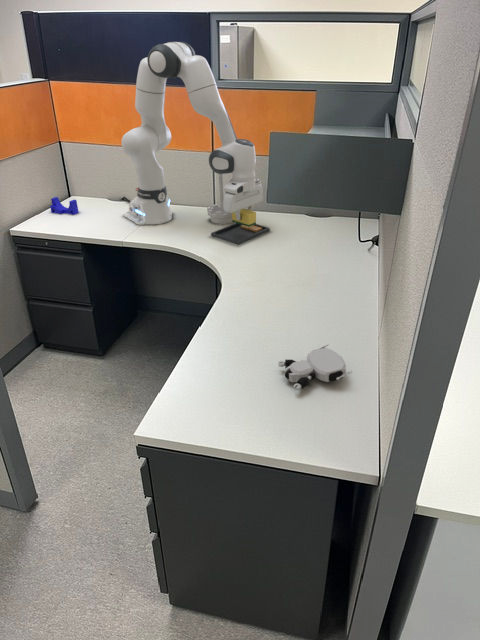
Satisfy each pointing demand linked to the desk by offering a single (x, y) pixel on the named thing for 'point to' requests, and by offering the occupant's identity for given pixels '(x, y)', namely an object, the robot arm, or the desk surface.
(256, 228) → the crumb
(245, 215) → the sponge
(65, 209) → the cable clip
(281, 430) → the desk surface
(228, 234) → the tray
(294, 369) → the robot toy
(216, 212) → the flag stand
